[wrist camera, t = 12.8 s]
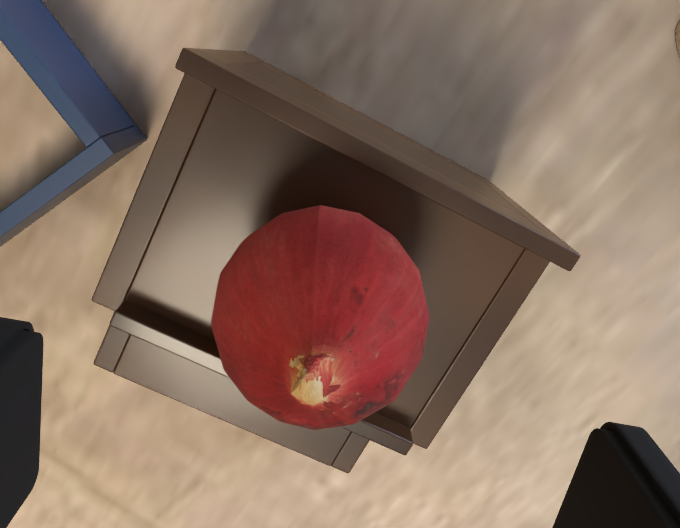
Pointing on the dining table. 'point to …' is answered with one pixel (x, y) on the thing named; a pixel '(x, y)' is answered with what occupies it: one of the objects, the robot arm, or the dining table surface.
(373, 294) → the onion
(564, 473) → the dining table surface
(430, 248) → the step shelf
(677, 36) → the clay tablet
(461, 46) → the dining table surface
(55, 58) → the crate
